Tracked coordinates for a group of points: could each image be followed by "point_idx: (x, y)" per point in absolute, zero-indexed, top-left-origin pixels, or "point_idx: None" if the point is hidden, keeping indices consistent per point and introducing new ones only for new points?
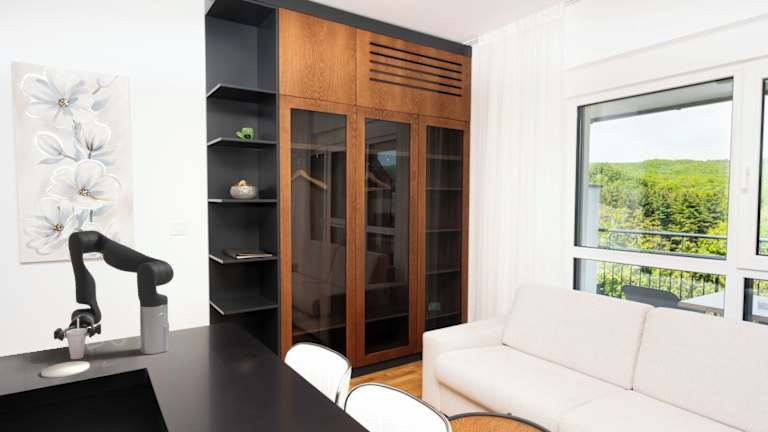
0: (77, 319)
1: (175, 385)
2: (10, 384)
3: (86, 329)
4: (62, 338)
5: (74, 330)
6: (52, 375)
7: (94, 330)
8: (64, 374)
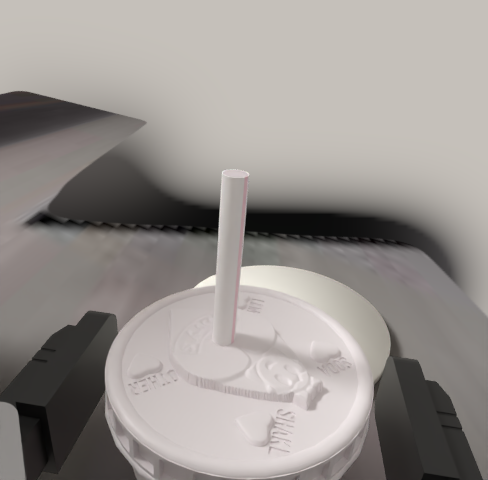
0: (242, 185)
1: (65, 155)
2: (460, 300)
3: (124, 332)
4: (379, 385)
5: (267, 341)
6: (324, 276)
7: (11, 382)
8: (282, 267)
